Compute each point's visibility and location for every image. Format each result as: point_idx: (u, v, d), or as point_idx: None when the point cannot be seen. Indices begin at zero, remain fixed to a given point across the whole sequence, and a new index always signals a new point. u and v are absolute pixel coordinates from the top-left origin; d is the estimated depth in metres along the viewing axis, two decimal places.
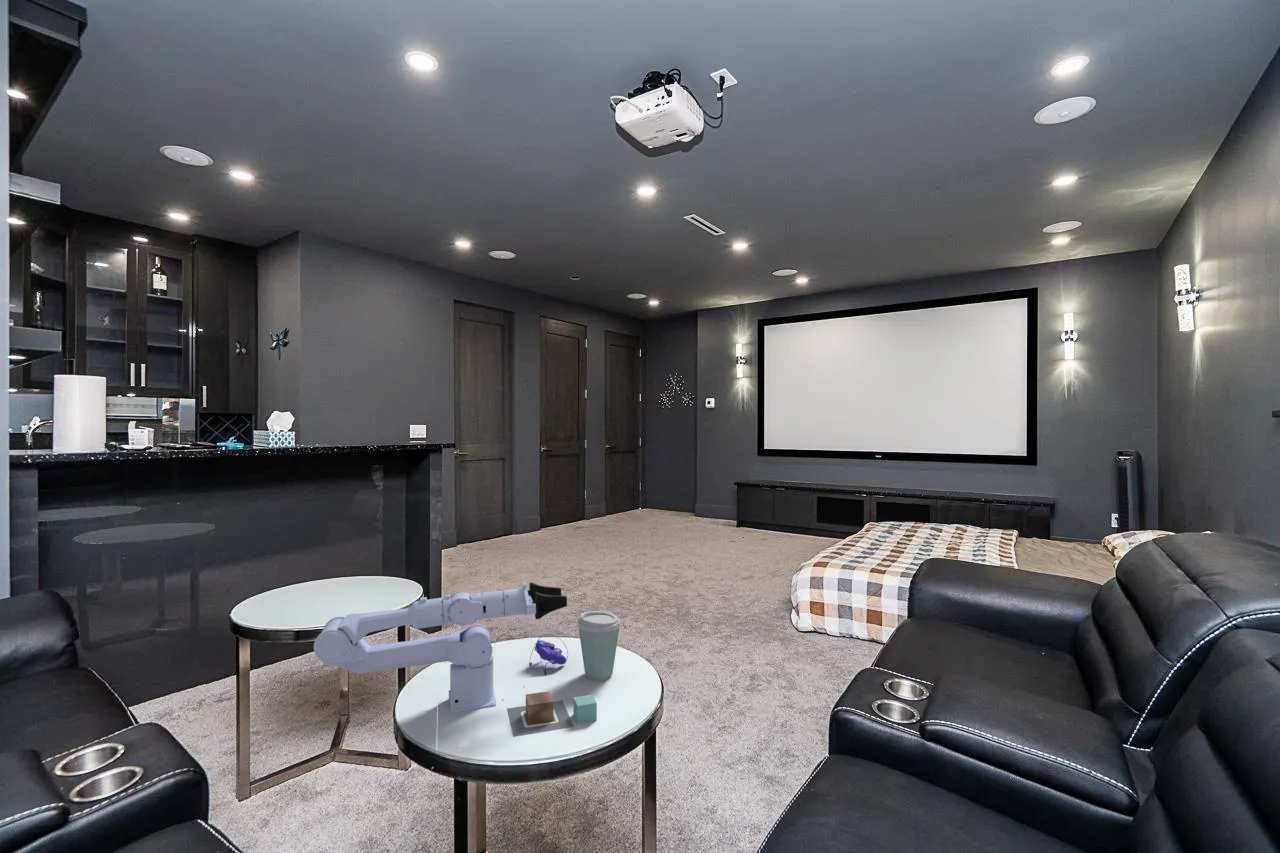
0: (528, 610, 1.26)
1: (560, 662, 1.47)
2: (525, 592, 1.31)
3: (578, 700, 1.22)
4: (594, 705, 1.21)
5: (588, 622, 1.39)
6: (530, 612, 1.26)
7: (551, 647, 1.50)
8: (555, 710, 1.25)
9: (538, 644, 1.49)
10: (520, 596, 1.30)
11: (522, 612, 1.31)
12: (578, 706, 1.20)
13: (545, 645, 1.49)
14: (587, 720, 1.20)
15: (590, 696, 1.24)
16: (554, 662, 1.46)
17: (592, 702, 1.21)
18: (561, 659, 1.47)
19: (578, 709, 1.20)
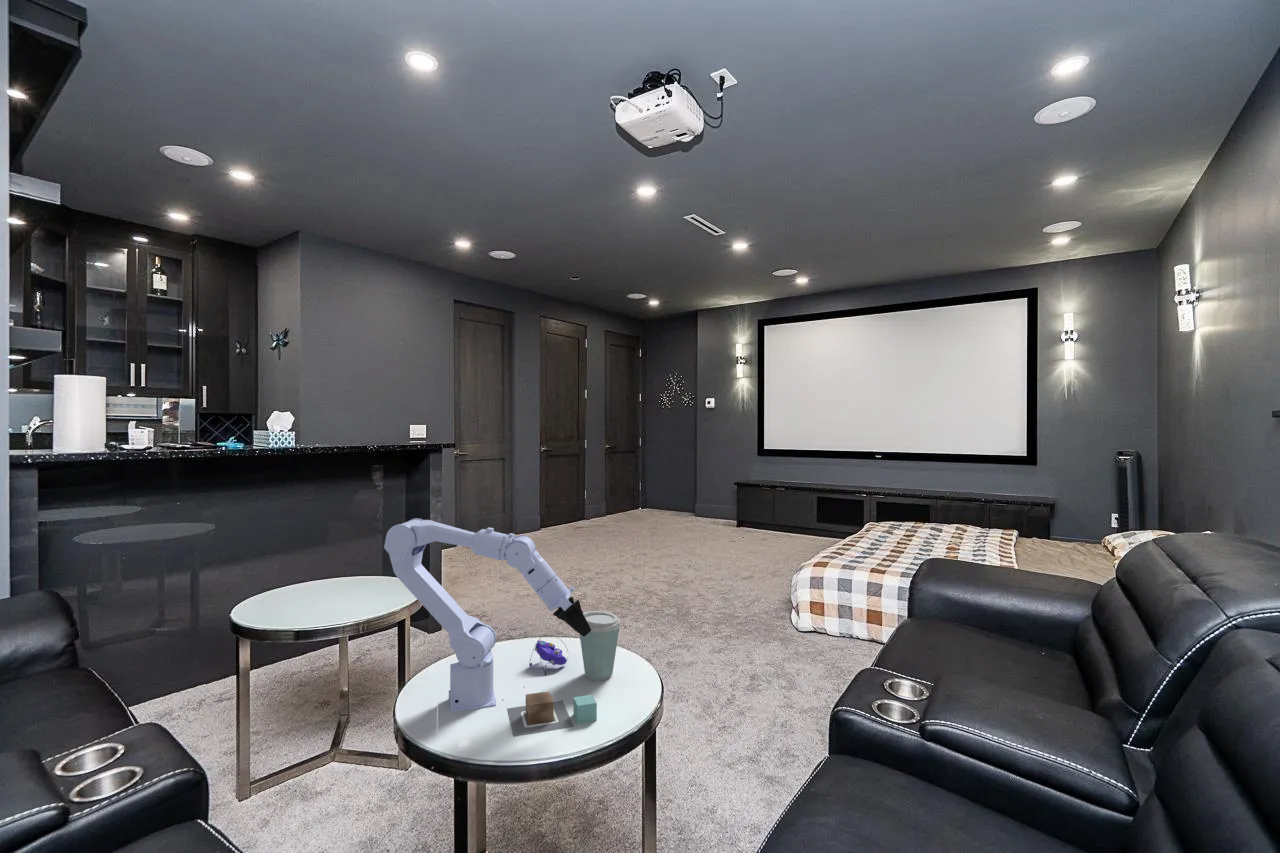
0: (562, 602, 1.22)
1: (560, 662, 1.47)
2: (569, 592, 1.28)
3: (578, 700, 1.22)
4: (594, 705, 1.21)
5: (588, 622, 1.39)
6: (562, 605, 1.22)
7: (551, 647, 1.50)
8: (555, 710, 1.25)
9: (538, 644, 1.49)
10: (564, 590, 1.28)
11: (551, 603, 1.26)
12: (578, 706, 1.20)
13: (545, 645, 1.49)
14: (587, 720, 1.20)
15: (590, 696, 1.24)
16: (554, 662, 1.46)
17: (592, 702, 1.21)
18: (561, 660, 1.47)
19: (578, 709, 1.20)
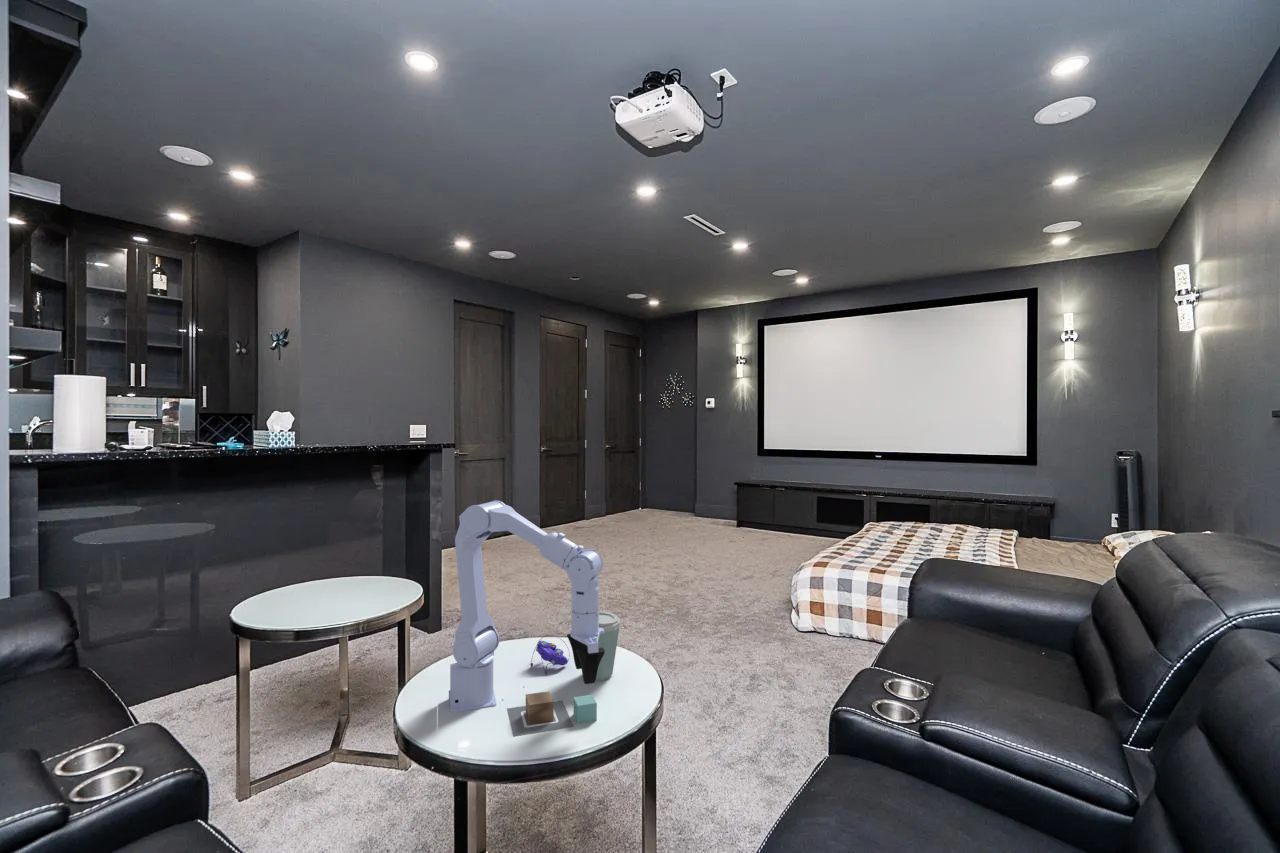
0: (592, 644, 1.15)
1: (561, 663, 1.47)
2: (599, 634, 1.21)
3: (578, 700, 1.22)
4: (594, 705, 1.21)
5: None
6: (590, 647, 1.15)
7: (552, 648, 1.50)
8: (555, 710, 1.25)
9: (539, 645, 1.49)
10: (596, 629, 1.21)
11: (578, 633, 1.20)
12: (578, 706, 1.20)
13: (546, 646, 1.49)
14: (587, 720, 1.20)
15: (590, 696, 1.24)
16: (555, 663, 1.45)
17: (592, 702, 1.21)
18: (562, 660, 1.47)
19: (578, 709, 1.20)
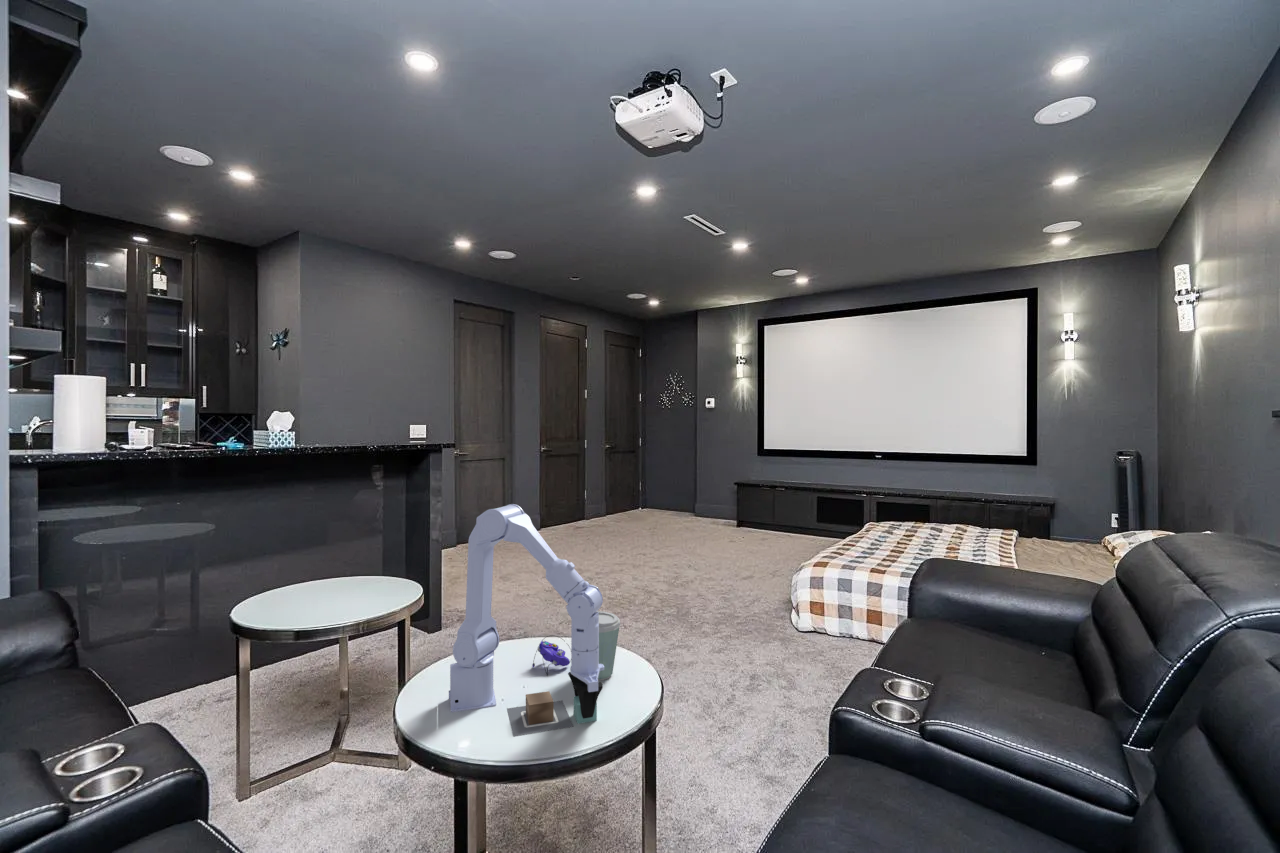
0: (592, 683, 1.15)
1: (563, 664, 1.46)
2: (599, 671, 1.21)
3: (578, 699, 1.22)
4: None
5: None
6: (590, 686, 1.15)
7: (554, 648, 1.49)
8: (555, 710, 1.25)
9: (541, 645, 1.48)
10: (596, 666, 1.21)
11: (578, 670, 1.20)
12: (578, 705, 1.20)
13: (548, 646, 1.49)
14: (587, 719, 1.20)
15: None
16: (556, 663, 1.45)
17: None
18: (564, 661, 1.46)
19: (578, 708, 1.20)
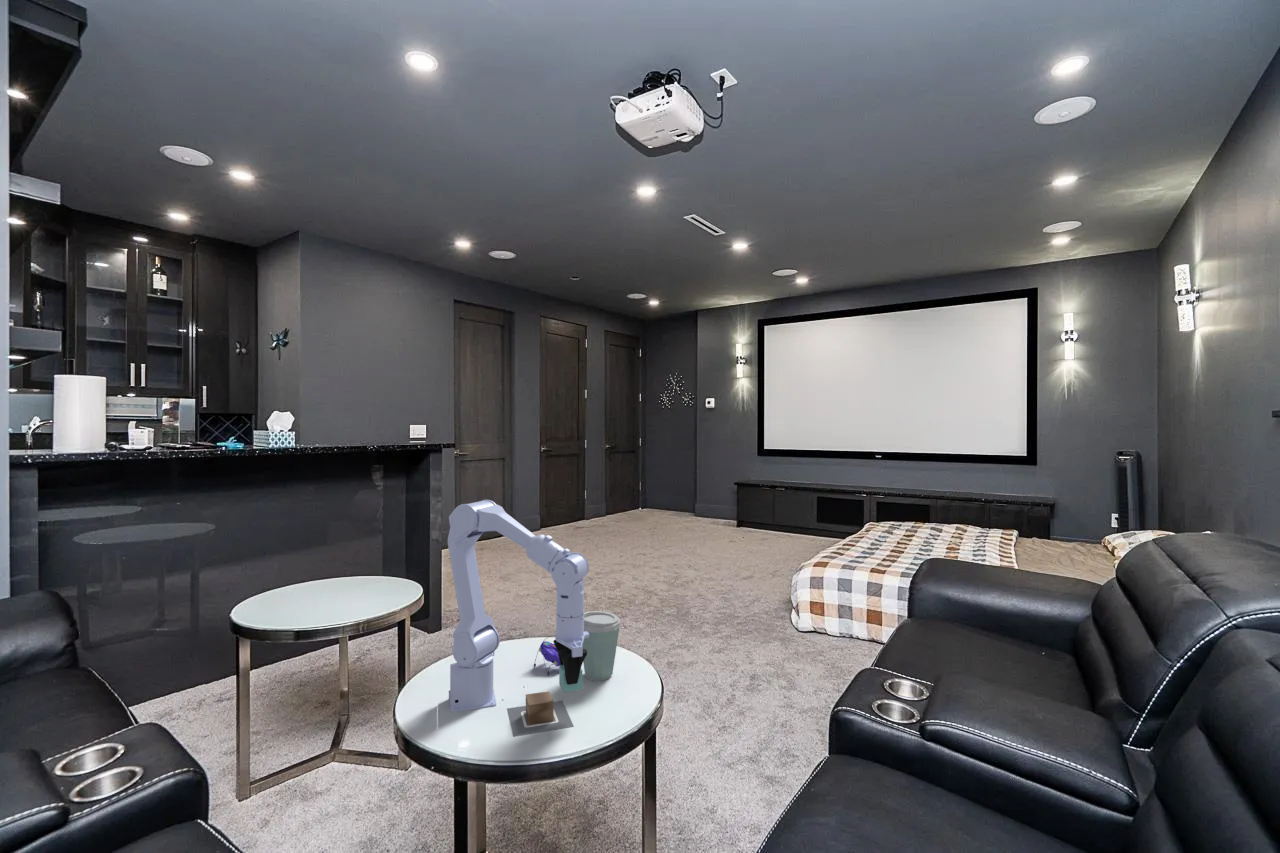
0: (577, 648, 1.15)
1: None
2: (583, 638, 1.21)
3: None
4: (580, 672, 1.21)
5: (588, 622, 1.39)
6: (574, 651, 1.15)
7: (556, 649, 1.49)
8: (555, 710, 1.25)
9: (543, 645, 1.48)
10: (580, 633, 1.21)
11: (563, 636, 1.20)
12: (564, 673, 1.20)
13: (550, 646, 1.48)
14: (573, 687, 1.20)
15: None
16: (557, 664, 1.45)
17: None
18: None
19: (564, 676, 1.20)
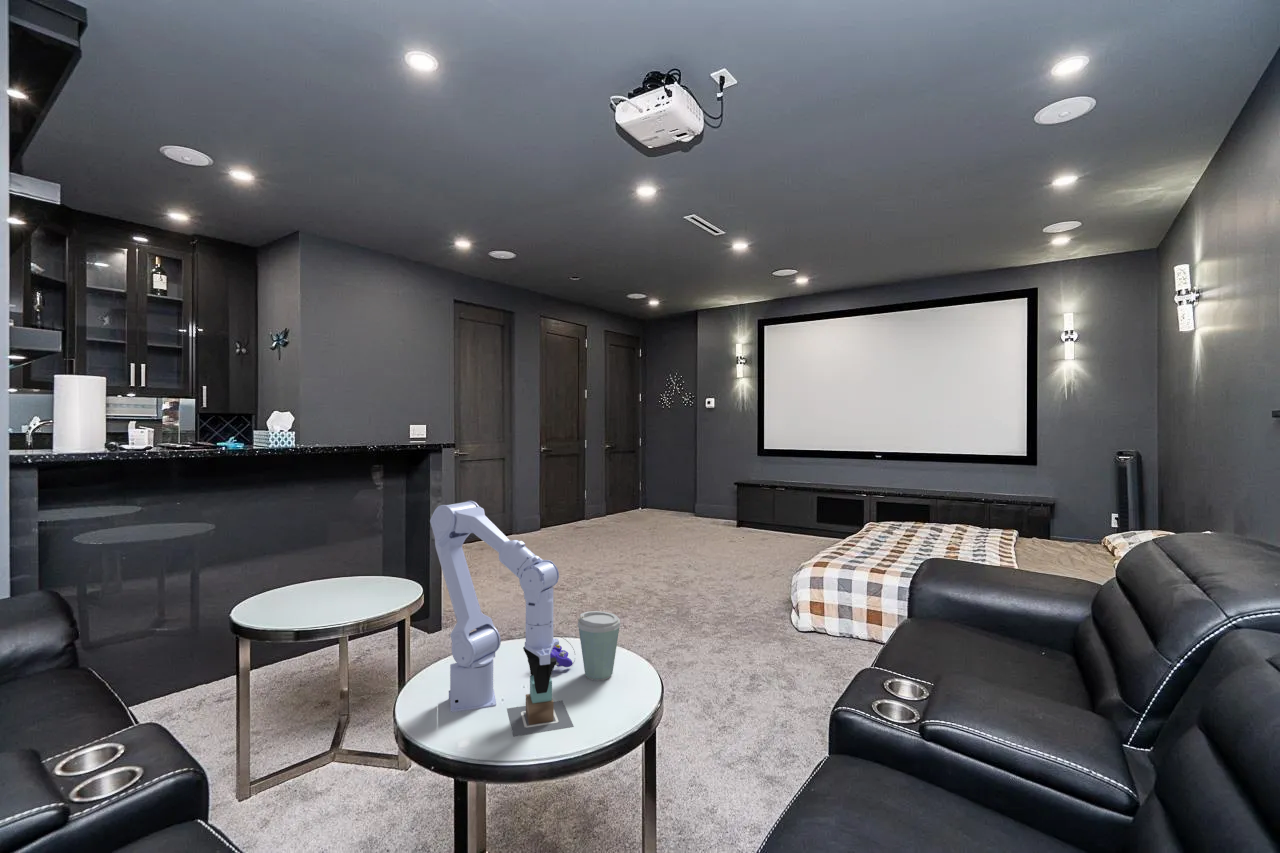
0: (544, 656, 1.15)
1: (565, 665, 1.46)
2: (553, 645, 1.21)
3: None
4: (549, 683, 1.21)
5: (588, 622, 1.39)
6: (542, 659, 1.15)
7: (557, 649, 1.49)
8: (555, 710, 1.25)
9: None
10: (550, 641, 1.21)
11: (531, 644, 1.20)
12: (533, 684, 1.20)
13: None
14: (542, 698, 1.20)
15: None
16: (559, 664, 1.44)
17: None
18: (566, 662, 1.45)
19: (533, 687, 1.20)
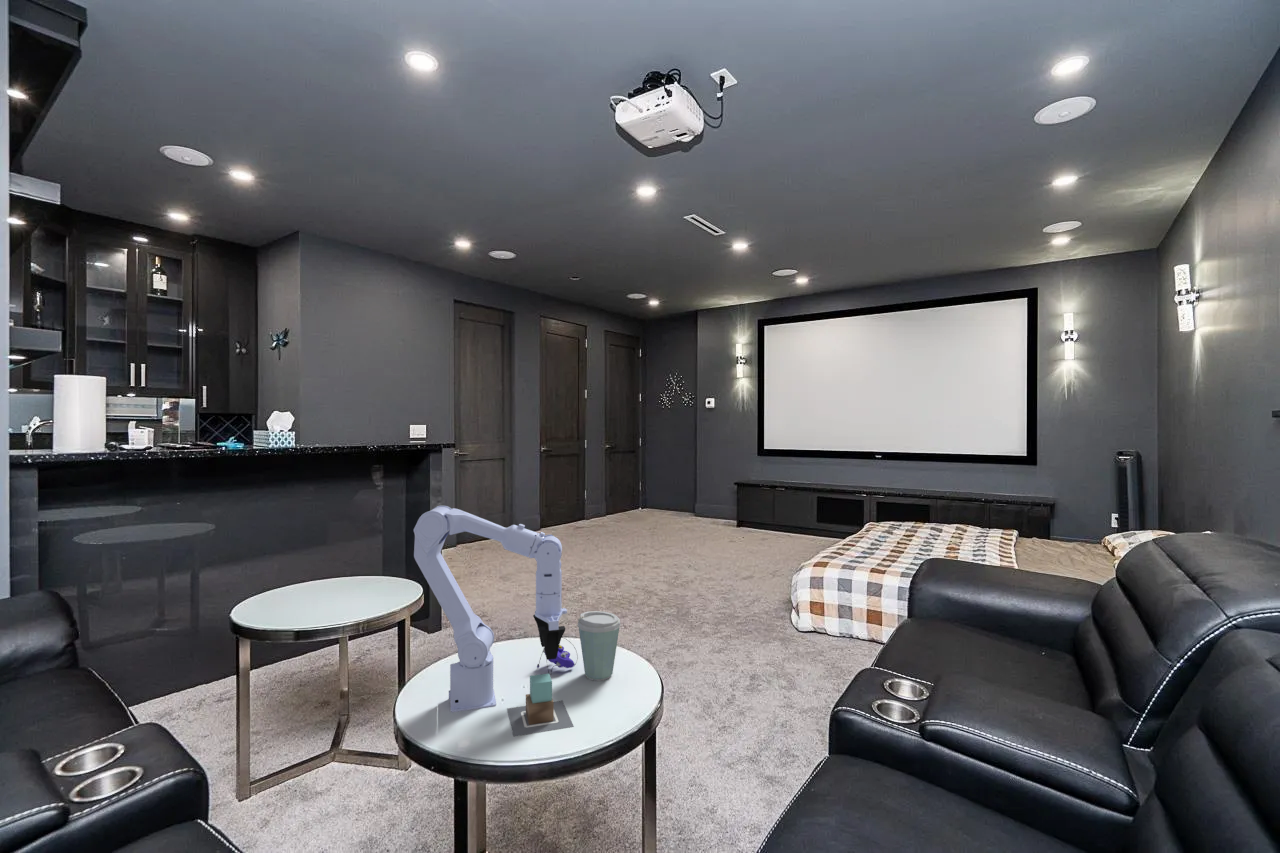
0: (553, 622, 1.24)
1: (567, 665, 1.45)
2: (561, 614, 1.30)
3: (534, 678, 1.22)
4: (549, 683, 1.21)
5: (588, 622, 1.39)
6: (551, 624, 1.24)
7: (559, 650, 1.48)
8: (555, 710, 1.25)
9: None
10: (558, 609, 1.29)
11: (541, 612, 1.28)
12: (533, 684, 1.20)
13: None
14: (542, 698, 1.20)
15: (546, 675, 1.24)
16: (560, 665, 1.44)
17: (547, 681, 1.21)
18: (568, 663, 1.45)
19: (533, 687, 1.20)
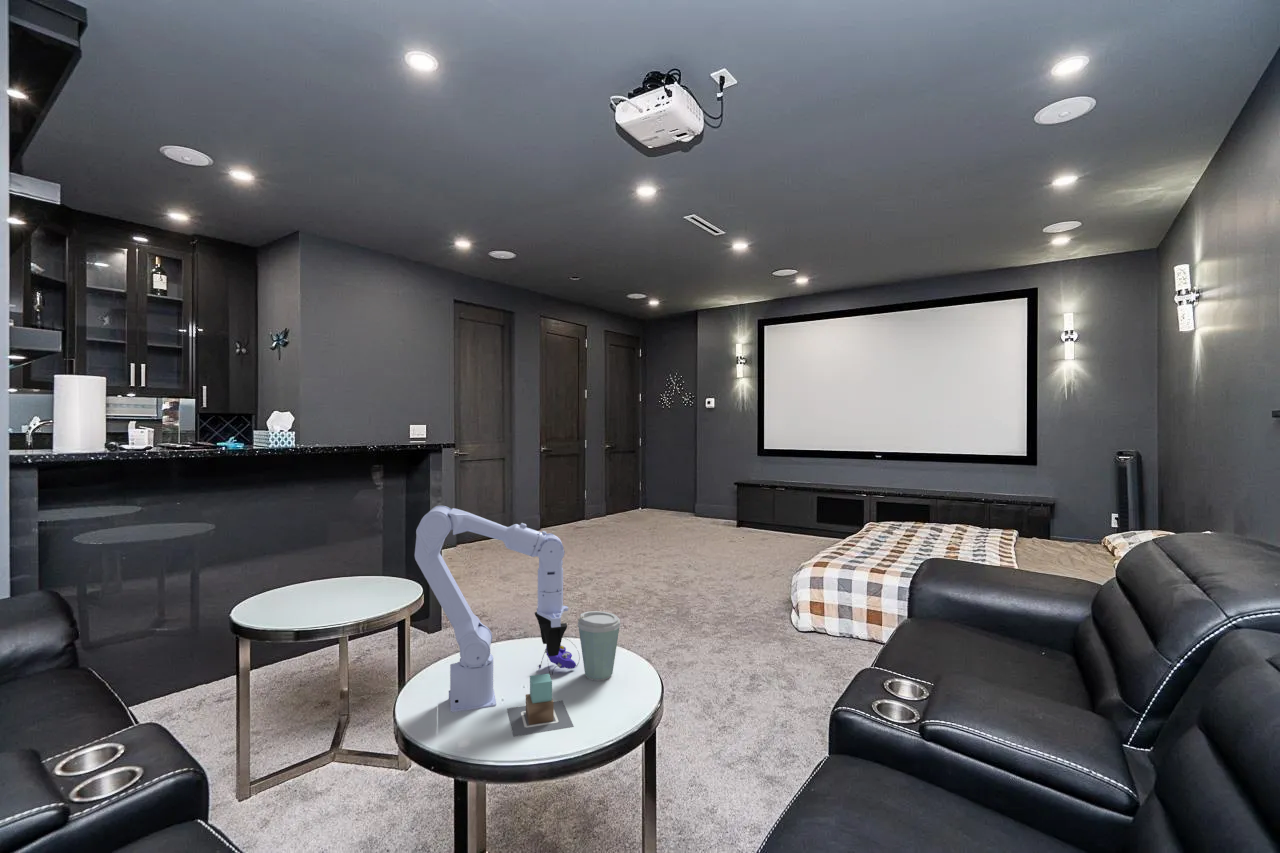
0: (555, 619, 1.26)
1: (568, 666, 1.45)
2: (562, 611, 1.32)
3: (534, 678, 1.22)
4: (549, 683, 1.21)
5: (588, 622, 1.39)
6: (553, 622, 1.26)
7: (561, 650, 1.48)
8: (555, 710, 1.25)
9: None
10: (560, 607, 1.31)
11: (543, 609, 1.30)
12: (533, 684, 1.20)
13: None
14: (542, 698, 1.20)
15: (546, 675, 1.24)
16: (561, 666, 1.44)
17: (547, 681, 1.21)
18: (569, 664, 1.44)
19: (533, 687, 1.20)
